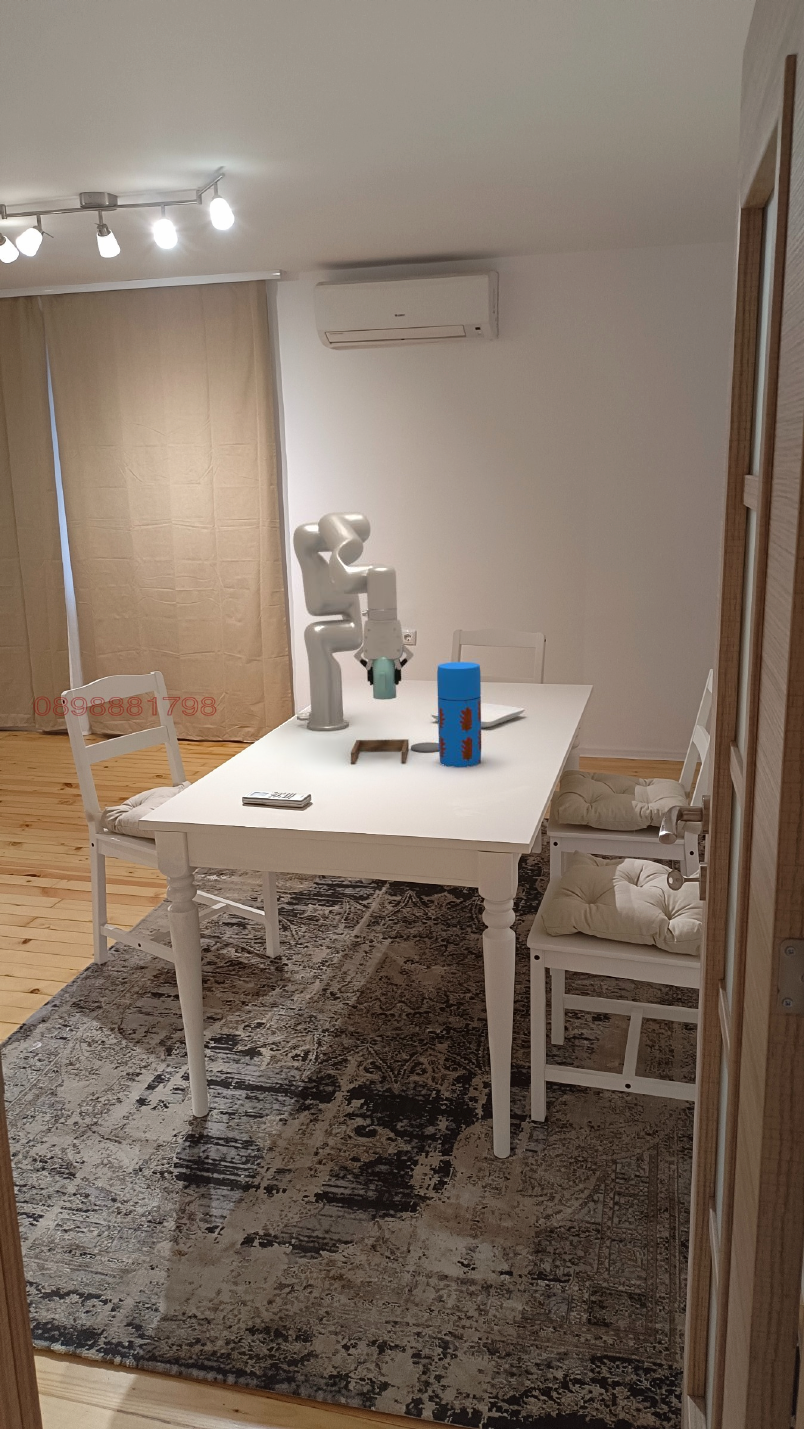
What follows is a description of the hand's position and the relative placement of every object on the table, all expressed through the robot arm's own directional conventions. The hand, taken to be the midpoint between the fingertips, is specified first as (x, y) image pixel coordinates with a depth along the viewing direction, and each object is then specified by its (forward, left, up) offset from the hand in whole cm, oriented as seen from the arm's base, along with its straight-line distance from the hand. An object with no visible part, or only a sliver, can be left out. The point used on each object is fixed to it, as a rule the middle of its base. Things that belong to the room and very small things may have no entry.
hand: (384, 683), depth 268 cm
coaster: (+10, +7, -19) cm, 23 cm away
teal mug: (0, -1, -4) cm, 4 cm away
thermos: (+19, -7, -20) cm, 28 cm away
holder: (-2, -1, -19) cm, 19 cm away
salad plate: (+24, +42, -20) cm, 52 cm away
